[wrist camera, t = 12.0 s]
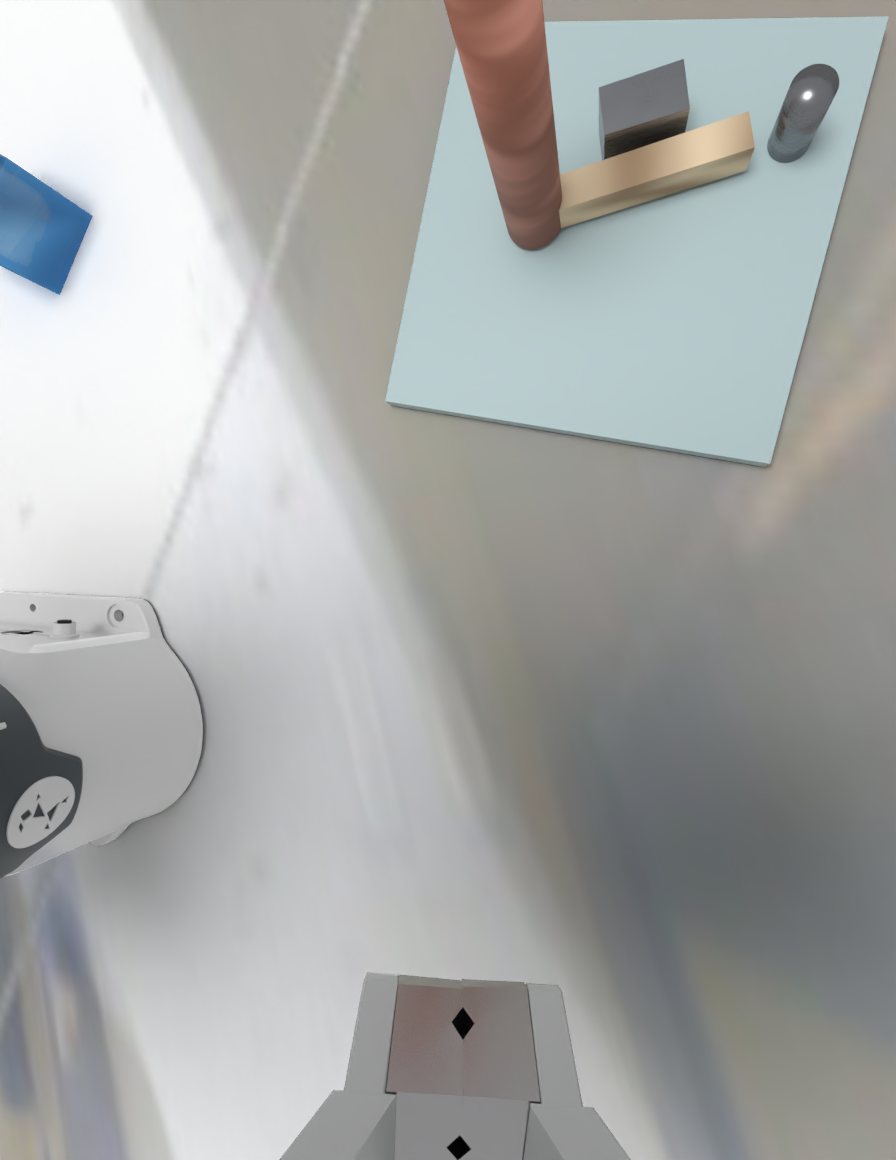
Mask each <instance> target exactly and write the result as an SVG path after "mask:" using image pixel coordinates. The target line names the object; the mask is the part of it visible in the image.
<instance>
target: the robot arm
mask: <svg viewBox="0 0 896 1160" xmlns="http://www.w3.org/2000/svg"><path fill="white" fill-rule="evenodd" d="M122 612H123V615H124V617H122ZM202 741H203V722H202V714H201V708H200V703H199V699H198V696H197V693H196V690H195V687H194V685H193V683H192V680H191V678H190V676H189V674H188V673H187V671H186V669H185V668H184V666H183V664H182V663H181V662H180V660H179V659H178V658H177V656H176V655H175V654H174V653H173V651H172V650H171V649H170V647H169V646H168V645H167V643H166V642H165V640H164V638H163V636H162V632H161V629H160V626H159V623H158V620H157V617H156V615H155V612H154V610H153V608H152V606H151V605H150V604H149V603H148V602H147V601H146V600H144V599H140V598H124V597H105V596H86V595H67V594H49V593H30V592H9V591H4V592H0V878H2V877H4V876H11V875H14V874H17V873H19V872H22V871H24V870H27V869H29V868H31V867H34V866H36V865H38V864H41V863H43V862H45V861H48V860H50V859H52V858H55V857H57V856H59V855H62V854H64V853H66V852H68V851H71V850H73V849H75V848H78V847H80V846H82V845H84V844H87V843H89V844H90V845H92V846H101V845H104V844H106V843H108V842H111V841H113V840H115V839H116V838H117V837H118V836H119V835H121V834H122V833H123V832H124V831H125V829H126V828H127V827H128V826H129V825H130V824H131V823H133V822H135V821H138V820H140V819H143V818H146V817H149V816H152V815H155V814H157V813H159V812H161V811H163V810H165V809H166V808H168V807H169V806H171V805H172V804H173V803H174V802H175V801H176V800H178V799H179V797H180V796H181V795H182V794H183V793H184V791H185V790H186V789H187V787H188V786H189V784H190V782H191V780H192V778H193V776H194V774H195V772H196V769H197V766H198V763H199V759H200V755H201V750H202ZM280 1160H630V1158H629V1157H628V1155H627V1154H626V1153H625V1151H624V1150H623V1148H622V1147H621V1146H620V1144H619V1143H618V1141H617V1140H616V1139H615V1137H614V1136H613V1134H612V1133H611V1132H610V1130H609V1129H608V1127H607V1126H606V1125H605V1123H604V1122H603V1120H602V1119H601V1118H600V1116H599V1115H598V1114H597V1112H596V1111H595V1109H594V1108H591V1107H583V1105H582V1100H581V1094H580V1089H579V1083H578V1078H577V1072H576V1067H575V1061H574V1056H573V1050H572V1045H571V1039H570V1034H569V1028H568V1023H567V1017H566V1012H565V1006H564V1001H563V995H562V991H561V990H560V988H559V986H558V985H545V984H530V983H526V984H525V983H524V982H506V981H486V980H465V979H462V981H460V980H449V979H439V978H428V977H418V976H408V975H400V976H399V975H394V974H382V973H369V972H367V974H366V977H365V980H364V983H363V987H362V993H361V998H360V1004H359V1009H358V1015H357V1020H356V1026H355V1032H354V1037H353V1043H352V1048H351V1054H350V1059H349V1065H348V1070H347V1076H346V1081H345V1087H344V1091H341V1090H333V1092H332V1093H331V1094H330V1095H329V1097H328V1098H327V1099H326V1101H325V1102H324V1103H323V1104H322V1106H321V1107H320V1108H319V1110H318V1111H317V1112H316V1113H315V1115H314V1116H313V1117H312V1119H311V1120H310V1121H309V1122H308V1124H307V1125H306V1126H305V1128H304V1129H303V1130H302V1131H301V1133H300V1134H299V1135H298V1137H297V1138H296V1139H295V1140H294V1142H293V1143H292V1144H291V1146H290V1147H289V1148H288V1149H287V1151H286V1152H285V1153H284V1155H283V1156H282V1157H281V1158H280Z"/></svg>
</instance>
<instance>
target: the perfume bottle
mask: <svg viewBox="0 0 896 1160" xmlns="http://www.w3.org/2000/svg"><path fill="white" fill-rule="evenodd" d="M91 218H92V216H91V215H90V214H89V213H87V212H86V211H84V210H83V209H81V208H80V207H78V206H77V205H75V204H74V203H72V202H71V201H69V200H68V199H66V198H65V197H63V196H62V195H61V194H59V193H58V192H56V191H55V190H53V189H52V188H50V187H49V186H47V185H46V184H44V183H43V182H41V181H40V180H38V179H37V178H36V177H34V176H33V175H31V174H30V173H28V172H27V171H25V170H24V169H22V168H21V167H19V166H18V165H16V164H15V163H13V162H12V161H10V160H9V159H8V158H6V157H4V156H2V155H0V266H2V267H4V268H6V269H8V270H10V271H12V272H14V273H16V274H18V275H20V276H22V277H24V278H26V279H28V280H30V281H32V282H35V283H37V284H39V285H41V286H43V287H45V288H47V289H49V290H51V291H53V292H55V293H57V294H59V295H60V293H61V290H62V288H63V285H64V283H65V281H66V278H67V276H68V273H69V271H70V269H71V266H72V264H73V261H74V259H75V257H76V254H77V252H78V249H79V247H80V244H81V242H82V240H83V237H84V235H85V232H86V230H87V228H88V225H89V223H90V220H91Z"/></svg>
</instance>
